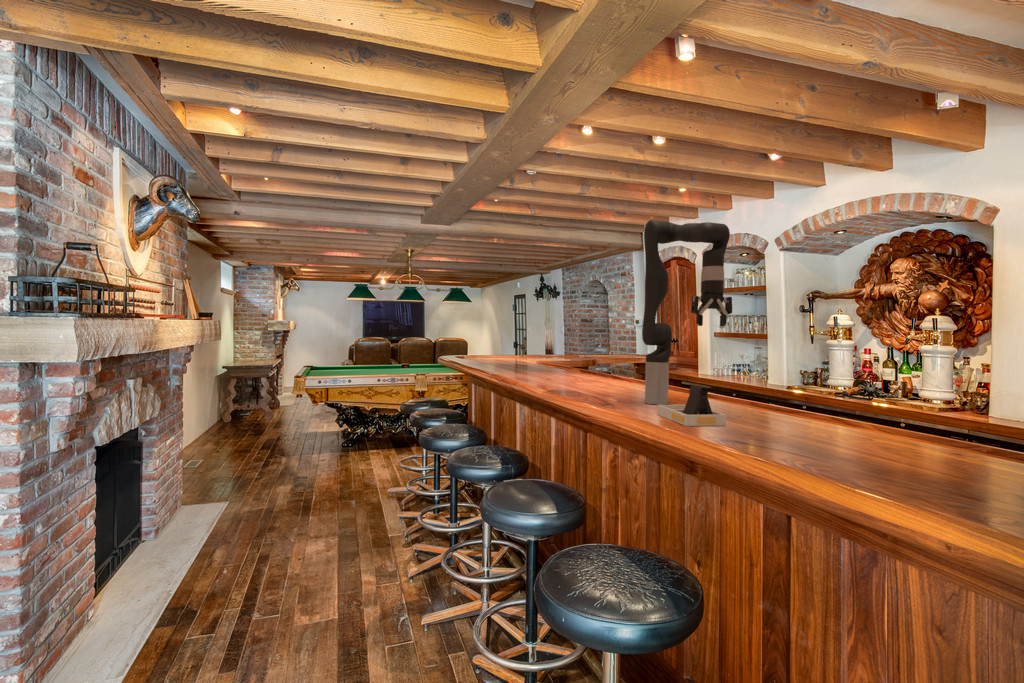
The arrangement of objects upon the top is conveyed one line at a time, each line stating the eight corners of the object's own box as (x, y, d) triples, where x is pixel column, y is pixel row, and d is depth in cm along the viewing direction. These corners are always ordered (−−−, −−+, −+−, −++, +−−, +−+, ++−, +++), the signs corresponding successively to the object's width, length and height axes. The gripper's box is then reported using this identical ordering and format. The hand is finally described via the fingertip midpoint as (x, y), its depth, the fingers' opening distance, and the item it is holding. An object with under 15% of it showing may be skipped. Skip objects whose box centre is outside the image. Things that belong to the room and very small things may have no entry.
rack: (656, 414, 174) (656, 404, 174) (692, 414, 176) (692, 404, 176) (685, 426, 153) (685, 415, 153) (726, 426, 155) (726, 415, 155)
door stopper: (705, 420, 163) (706, 385, 163) (715, 424, 157) (716, 387, 157) (680, 421, 162) (681, 385, 162) (689, 424, 156) (690, 387, 156)
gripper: (725, 281, 176) (723, 326, 176) (688, 280, 174) (687, 325, 174) (737, 279, 169) (736, 326, 169) (699, 278, 167) (697, 325, 167)
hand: (711, 326), depth 172 cm, fingers open, 8 cm apart
